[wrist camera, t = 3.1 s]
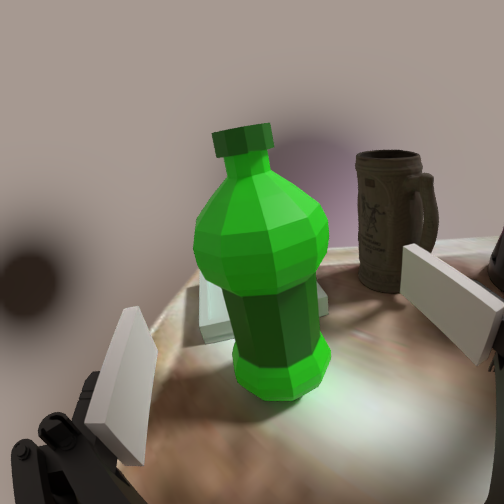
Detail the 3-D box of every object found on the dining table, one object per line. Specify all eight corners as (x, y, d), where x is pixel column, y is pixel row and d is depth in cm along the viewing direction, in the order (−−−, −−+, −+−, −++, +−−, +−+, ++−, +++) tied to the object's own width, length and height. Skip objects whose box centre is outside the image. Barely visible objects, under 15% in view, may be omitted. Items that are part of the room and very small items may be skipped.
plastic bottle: (342, 355, 31) (326, 116, 21) (312, 431, 23) (275, 119, 13) (264, 342, 36) (222, 132, 26) (220, 404, 28) (138, 151, 18)
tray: (294, 263, 54) (292, 249, 53) (328, 314, 39) (327, 296, 37) (203, 284, 53) (199, 270, 52) (205, 344, 37) (199, 326, 36)
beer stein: (343, 272, 48) (338, 152, 39) (387, 253, 51) (388, 145, 42) (405, 320, 35) (422, 171, 26) (449, 291, 38) (467, 162, 29)
